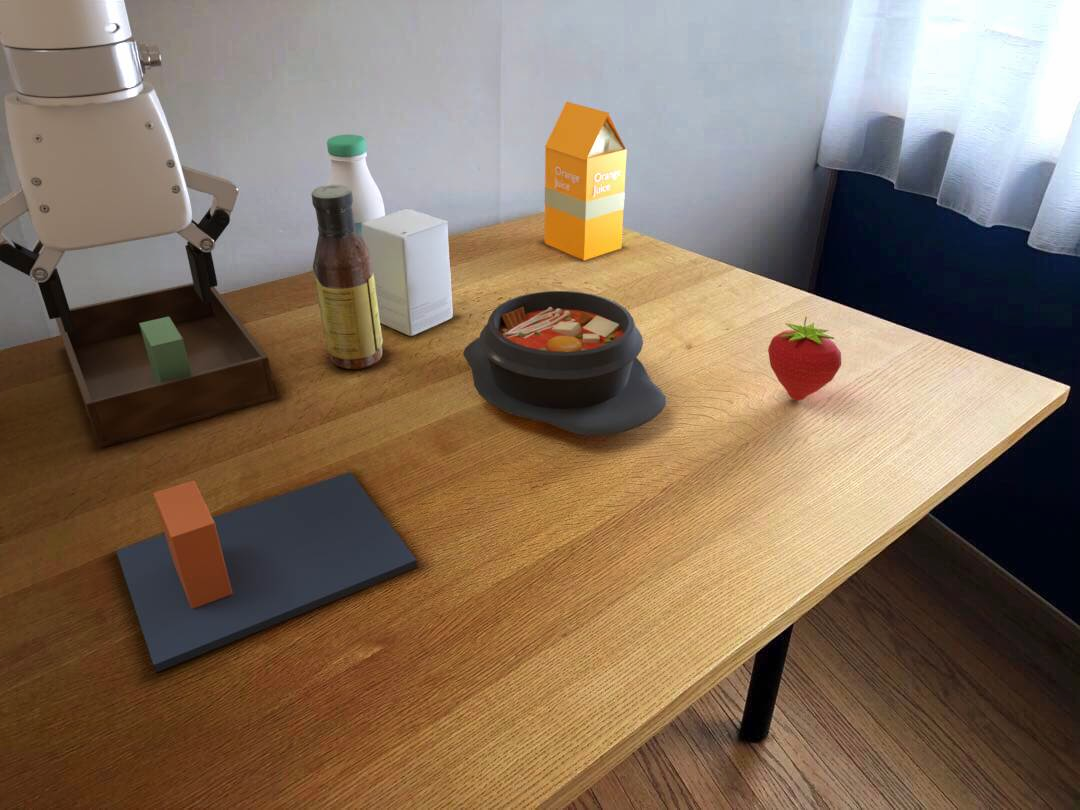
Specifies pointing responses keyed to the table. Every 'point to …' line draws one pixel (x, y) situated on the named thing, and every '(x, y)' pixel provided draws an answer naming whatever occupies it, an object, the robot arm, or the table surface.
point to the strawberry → (803, 359)
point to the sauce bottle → (345, 282)
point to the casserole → (565, 363)
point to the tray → (125, 372)
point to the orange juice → (584, 183)
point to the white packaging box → (410, 270)
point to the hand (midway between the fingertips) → (138, 310)
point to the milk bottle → (355, 177)
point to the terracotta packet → (193, 543)
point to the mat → (266, 568)
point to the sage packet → (165, 349)
